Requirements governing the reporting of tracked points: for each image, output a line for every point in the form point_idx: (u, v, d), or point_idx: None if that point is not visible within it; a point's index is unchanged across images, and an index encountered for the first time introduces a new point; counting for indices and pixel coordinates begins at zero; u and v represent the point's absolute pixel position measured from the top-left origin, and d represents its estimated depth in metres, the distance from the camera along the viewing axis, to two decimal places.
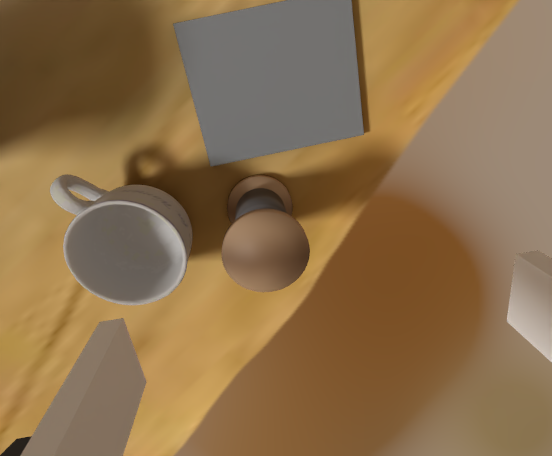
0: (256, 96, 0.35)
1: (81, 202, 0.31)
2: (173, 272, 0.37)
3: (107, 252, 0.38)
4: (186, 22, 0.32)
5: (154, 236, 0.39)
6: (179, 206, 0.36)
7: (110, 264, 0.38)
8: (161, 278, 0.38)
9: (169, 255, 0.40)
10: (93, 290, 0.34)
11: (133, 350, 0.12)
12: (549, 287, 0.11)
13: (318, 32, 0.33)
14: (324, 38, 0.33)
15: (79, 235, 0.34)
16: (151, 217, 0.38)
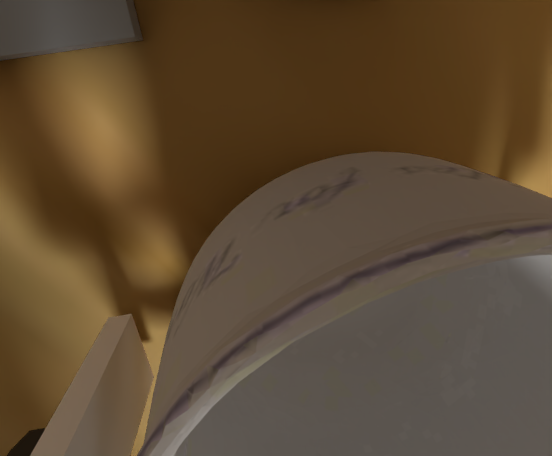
0: None
1: None
2: None
3: (402, 411, 0.13)
4: None
5: None
6: (258, 196, 0.08)
7: (444, 424, 0.12)
8: None
9: None
10: None
11: (141, 346, 0.12)
12: None
13: None
14: None
15: None
16: None
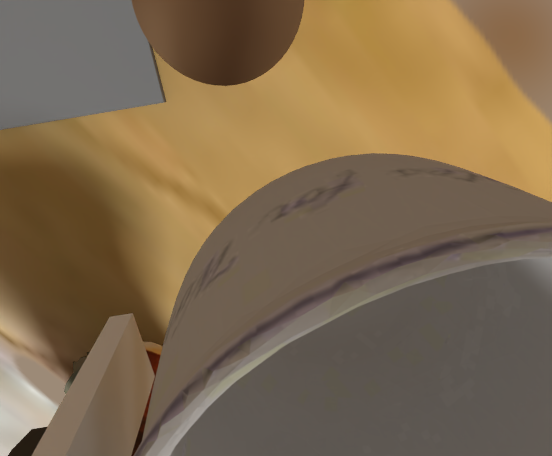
0: (53, 22, 0.24)
1: None
2: None
3: (402, 412, 0.13)
4: None
5: None
6: (257, 198, 0.08)
7: (443, 424, 0.12)
8: None
9: None
10: None
11: (142, 345, 0.12)
12: None
13: None
14: None
15: None
16: None
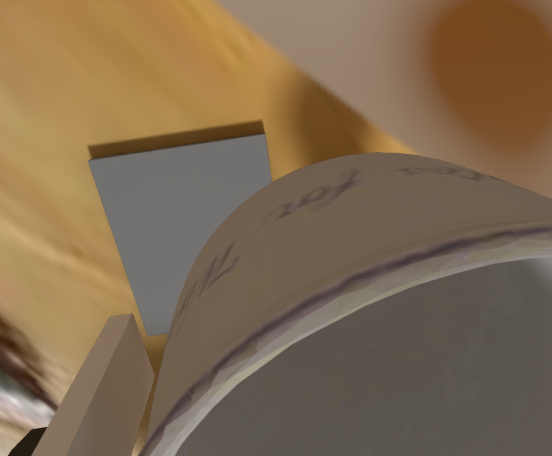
0: None
1: None
2: None
3: (404, 412, 0.13)
4: (145, 325, 0.32)
5: None
6: (260, 197, 0.08)
7: (445, 425, 0.12)
8: None
9: None
10: None
11: (142, 345, 0.12)
12: None
13: (141, 197, 0.28)
14: (147, 190, 0.27)
15: None
16: None
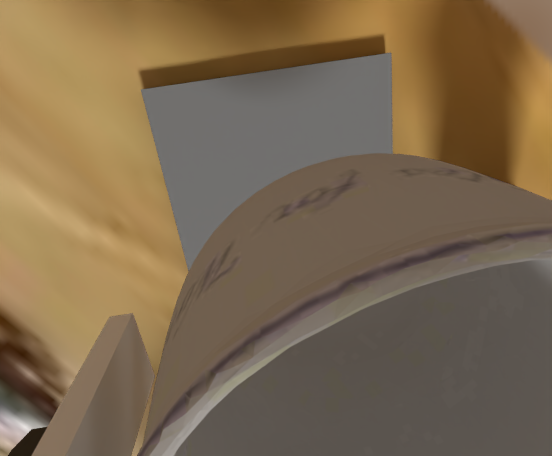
0: None
1: None
2: None
3: (403, 413, 0.13)
4: None
5: None
6: (258, 198, 0.08)
7: (445, 426, 0.12)
8: None
9: None
10: None
11: (142, 345, 0.12)
12: None
13: (212, 145, 0.20)
14: (221, 135, 0.20)
15: None
16: None
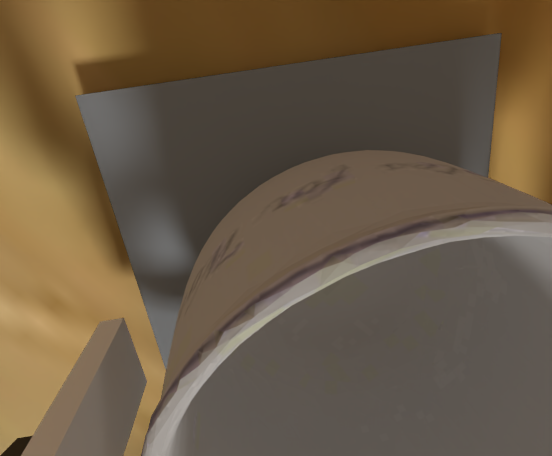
0: None
1: None
2: (542, 250, 0.09)
3: (398, 394, 0.13)
4: None
5: (375, 266, 0.13)
6: (260, 191, 0.09)
7: (436, 405, 0.13)
8: (547, 292, 0.10)
9: None
10: None
11: (134, 350, 0.12)
12: None
13: (199, 186, 0.12)
14: (214, 169, 0.12)
15: None
16: None
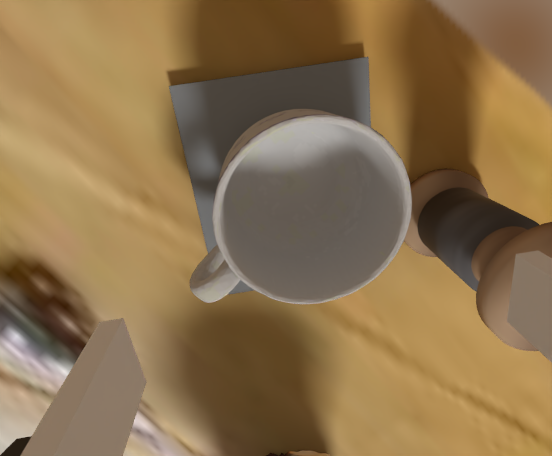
0: None
1: (221, 267, 0.20)
2: (369, 149, 0.21)
3: (326, 242, 0.26)
4: None
5: (313, 173, 0.25)
6: (253, 125, 0.21)
7: (343, 243, 0.25)
8: (378, 170, 0.22)
9: (346, 154, 0.24)
10: (369, 276, 0.21)
11: (133, 350, 0.12)
12: (549, 288, 0.11)
13: (224, 131, 0.25)
14: (232, 123, 0.24)
15: (282, 276, 0.23)
16: (280, 173, 0.25)
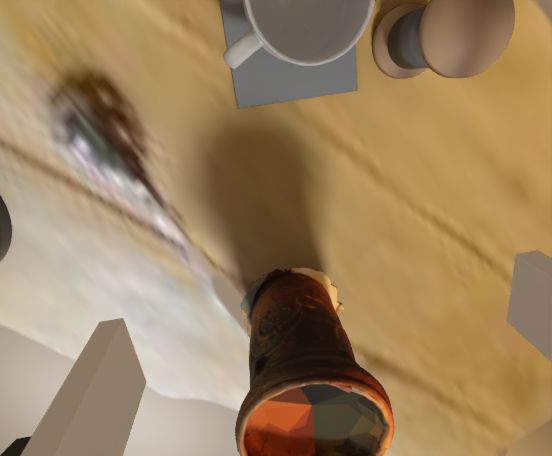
0: None
1: (247, 32, 0.30)
2: None
3: (319, 50, 0.35)
4: (237, 96, 0.38)
5: None
6: None
7: (331, 45, 0.34)
8: None
9: None
10: (349, 44, 0.31)
11: (133, 350, 0.12)
12: (549, 288, 0.11)
13: None
14: None
15: None
16: None
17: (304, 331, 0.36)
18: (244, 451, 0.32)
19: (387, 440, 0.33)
